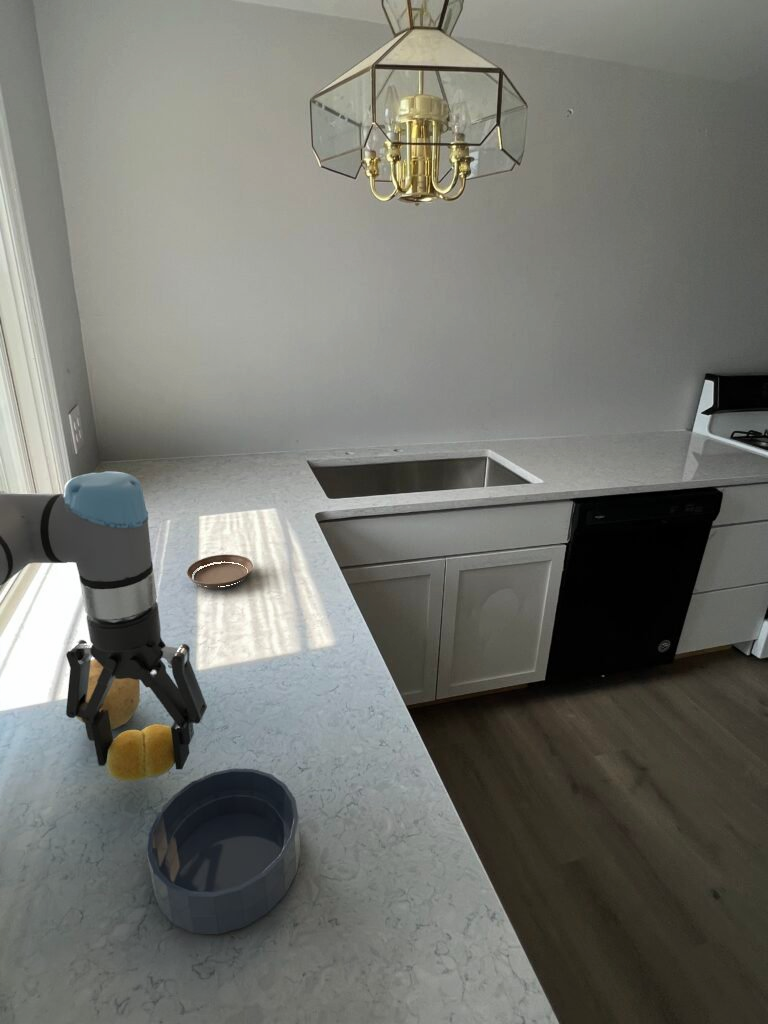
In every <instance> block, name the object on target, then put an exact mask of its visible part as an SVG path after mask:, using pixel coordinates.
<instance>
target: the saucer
mask: <svg viewBox="0 0 768 1024" xmlns="http://www.w3.org/2000/svg"><path fill="white" fill-rule="evenodd" d="M221 561H222V562H224V561H225V562H234V563H239V564H241V565H243V566H244V567H243V566H241V565H238V564H232V563H221V564H214V565H210V566H207V567H204V568H202V569H200V570H199V571H197V572H196V573H195V575H194V580H193V579H192V574H193V572H194V571H195V570H196V569H197V568H199V567H200V566H204V565H207V564H210V563H213V562H221ZM245 567H246V568H247V569H248V573H247V569H246V568H245ZM253 568H254V564H253V561H252V560H250V559H249V558H248V557H245V556H242V555H239V554H226V553H225V554H216V555H215V554H214V555H210V556H207V557H204V558H200V559H198V560H197V561H195V562H193V563H192V564H191V565H189V566H188V568H187V570H186V576H187V577H188V579H190V581H192V582H193V583H195V584H196V585H198V584H199V585H198V586H200V585H201V586H200V587H203V588H205V589H211V590H214V589H215V590H217V589H219V590H221V589H226V588H231V587H234V586H236V585H238V584H240V583H241V582H243V581H244V580H245V579H246V578H247V577H248V576H249V575H250V573H251V572H252V570H253ZM243 579H244V580H243ZM241 580H242V581H241ZM239 581H240V582H239ZM237 582H238V583H237ZM234 583H236V584H234ZM231 584H233V585H231ZM226 585H230V586H226ZM204 586H207V587H204ZM218 586H219V587H218ZM220 586H225V587H220Z"/></svg>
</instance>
